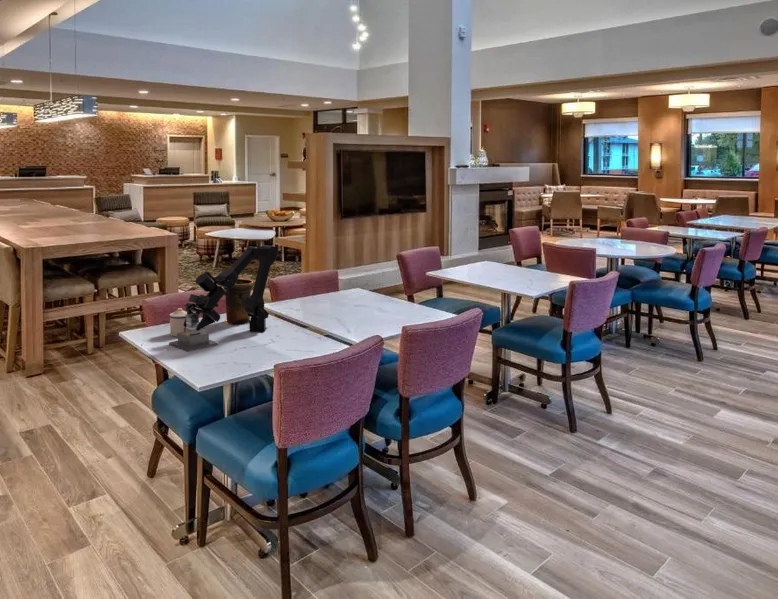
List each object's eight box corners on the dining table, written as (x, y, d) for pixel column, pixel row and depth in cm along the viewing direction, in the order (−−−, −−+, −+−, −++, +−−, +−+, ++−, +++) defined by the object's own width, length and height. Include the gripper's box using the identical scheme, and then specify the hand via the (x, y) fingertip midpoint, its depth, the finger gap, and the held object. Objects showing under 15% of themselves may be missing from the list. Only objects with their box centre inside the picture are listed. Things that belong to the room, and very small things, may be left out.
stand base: (198, 338, 271) (198, 324, 270) (217, 344, 262) (217, 331, 261) (169, 344, 261) (168, 330, 259) (187, 351, 252) (187, 337, 251)
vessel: (245, 316, 312) (245, 276, 307) (259, 323, 301) (258, 282, 296) (218, 320, 303) (217, 279, 298) (230, 327, 292) (230, 285, 287)
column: (195, 340, 264) (194, 312, 262) (201, 342, 262) (200, 314, 259) (185, 342, 261) (184, 314, 258) (190, 344, 258) (189, 316, 256)
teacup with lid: (188, 337, 273) (187, 311, 270) (167, 336, 272) (165, 310, 270) (196, 330, 284) (195, 305, 282) (176, 329, 284) (174, 304, 282)
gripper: (187, 283, 265) (165, 313, 260) (213, 290, 254) (190, 320, 248) (204, 299, 273) (182, 328, 267) (230, 306, 261) (207, 336, 255)
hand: (190, 328), depth 259 cm, fingers open, 9 cm apart
